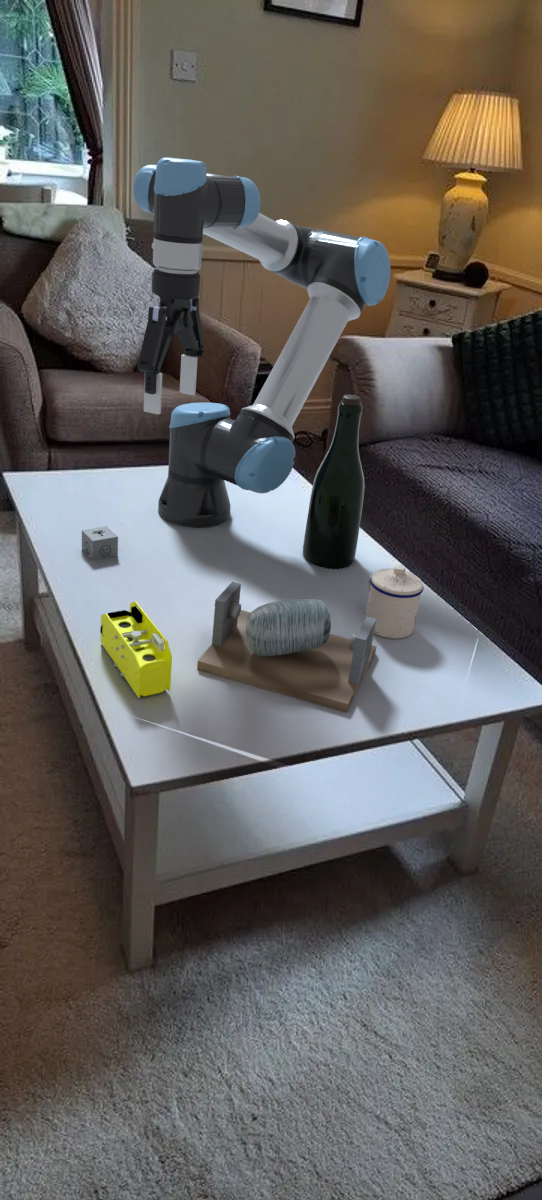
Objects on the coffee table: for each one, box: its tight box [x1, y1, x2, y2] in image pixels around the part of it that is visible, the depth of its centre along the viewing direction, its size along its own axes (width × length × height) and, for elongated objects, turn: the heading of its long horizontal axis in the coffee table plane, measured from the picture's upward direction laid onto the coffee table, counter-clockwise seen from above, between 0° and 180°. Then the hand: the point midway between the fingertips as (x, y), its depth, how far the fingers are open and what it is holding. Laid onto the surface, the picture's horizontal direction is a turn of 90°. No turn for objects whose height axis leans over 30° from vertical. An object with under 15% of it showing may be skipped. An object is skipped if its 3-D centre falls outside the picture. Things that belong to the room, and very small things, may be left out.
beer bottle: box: [302, 394, 365, 570], centre depth 163 cm, size 10×10×33 cm
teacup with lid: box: [364, 564, 425, 640], centre depth 148 cm, size 12×9×12 cm
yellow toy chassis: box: [99, 600, 173, 699], centre depth 129 cm, size 16×6×8 cm, turn 29°
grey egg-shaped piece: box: [246, 598, 332, 657], centre depth 134 cm, size 14×10×10 cm
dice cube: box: [81, 526, 119, 561], centre depth 161 cm, size 5×5×5 cm
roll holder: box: [196, 581, 377, 713], centre depth 135 cm, size 18×24×10 cm
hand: (170, 402), depth 144 cm, fingers open, 13 cm apart
